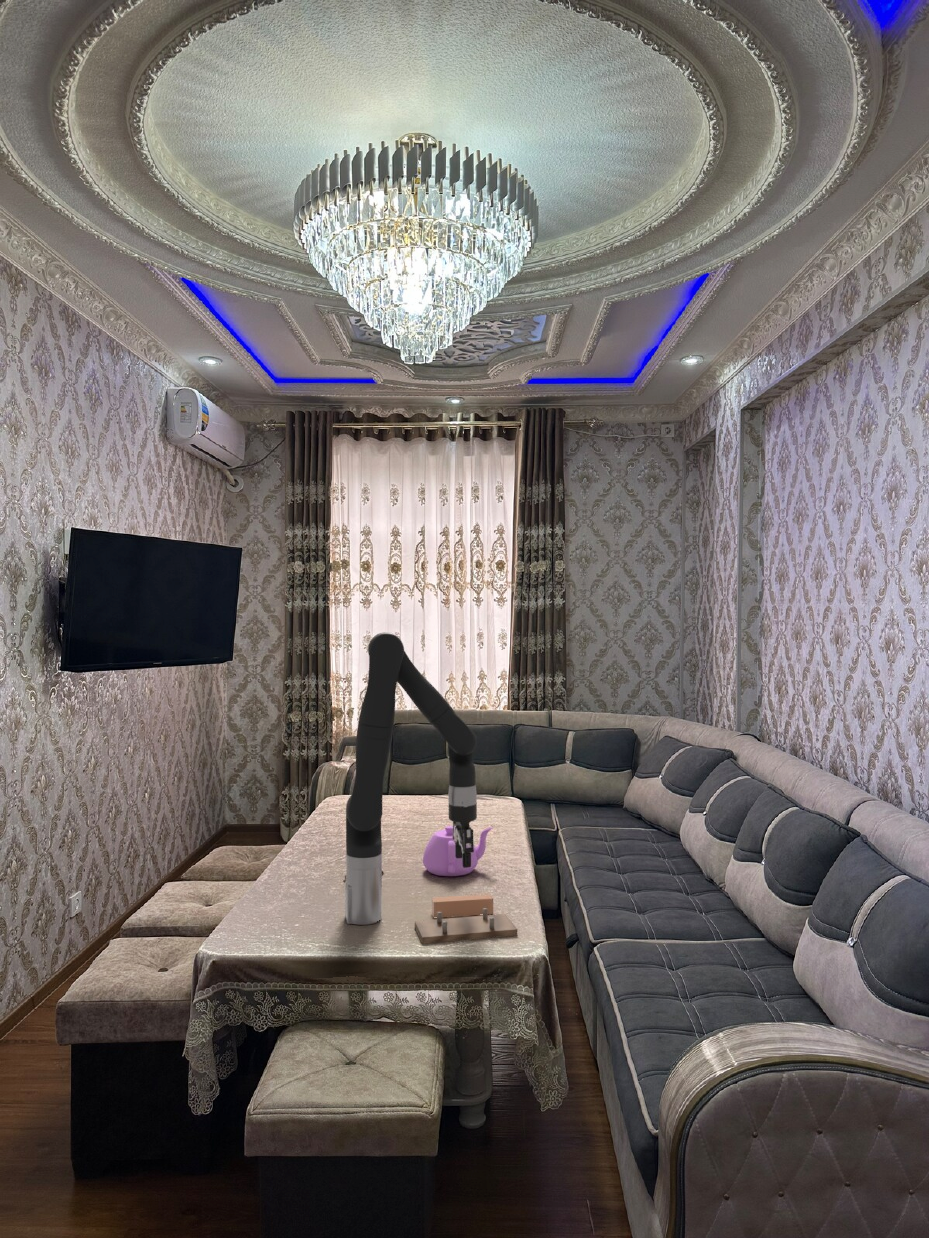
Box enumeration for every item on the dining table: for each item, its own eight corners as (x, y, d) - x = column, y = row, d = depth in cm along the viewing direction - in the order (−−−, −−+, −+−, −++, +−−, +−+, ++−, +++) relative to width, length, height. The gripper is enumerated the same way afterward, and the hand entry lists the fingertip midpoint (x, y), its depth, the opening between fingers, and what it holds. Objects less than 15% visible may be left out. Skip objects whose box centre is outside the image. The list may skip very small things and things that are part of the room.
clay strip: (433, 919, 222) (433, 902, 222) (431, 914, 225) (431, 897, 225) (493, 915, 225) (493, 898, 225) (490, 910, 228) (490, 894, 228)
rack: (422, 943, 205) (422, 926, 205) (414, 926, 215) (414, 911, 215) (517, 935, 210) (517, 919, 210) (505, 919, 221) (505, 904, 221)
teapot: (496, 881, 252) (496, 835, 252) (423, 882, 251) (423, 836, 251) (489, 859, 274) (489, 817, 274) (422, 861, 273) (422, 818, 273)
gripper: (443, 796, 231) (443, 855, 231) (454, 808, 217) (455, 871, 217) (470, 795, 233) (470, 853, 233) (482, 806, 219) (483, 869, 219)
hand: (463, 862), depth 225 cm, fingers open, 8 cm apart
